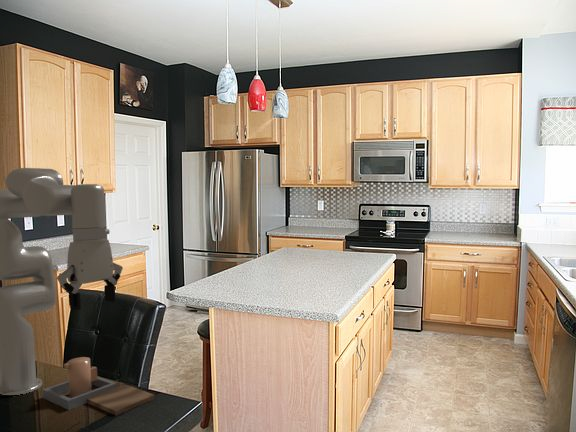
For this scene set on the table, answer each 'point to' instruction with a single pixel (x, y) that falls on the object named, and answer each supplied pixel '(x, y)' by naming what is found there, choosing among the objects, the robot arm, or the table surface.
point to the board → (120, 399)
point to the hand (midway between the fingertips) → (93, 305)
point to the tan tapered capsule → (80, 376)
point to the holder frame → (56, 397)
